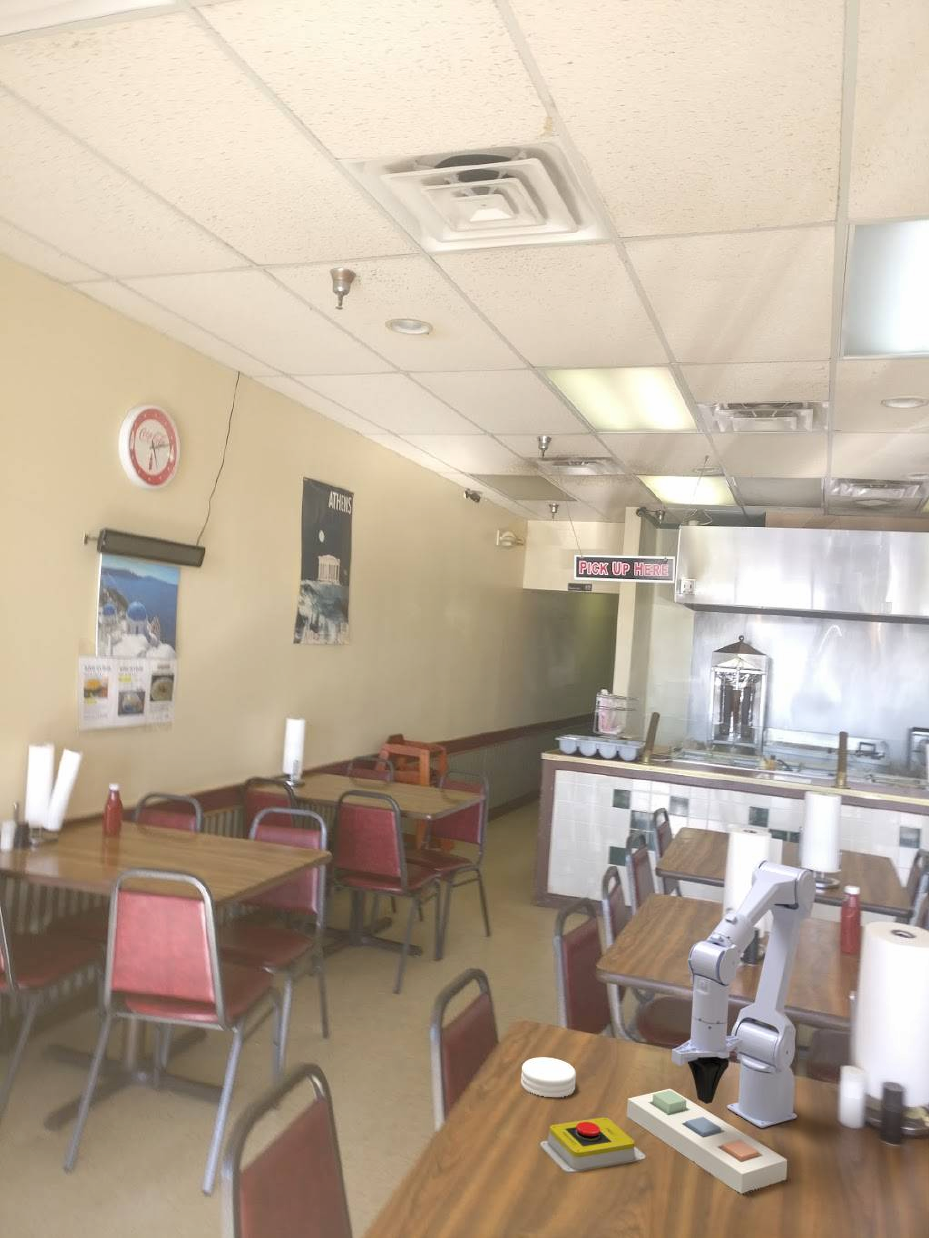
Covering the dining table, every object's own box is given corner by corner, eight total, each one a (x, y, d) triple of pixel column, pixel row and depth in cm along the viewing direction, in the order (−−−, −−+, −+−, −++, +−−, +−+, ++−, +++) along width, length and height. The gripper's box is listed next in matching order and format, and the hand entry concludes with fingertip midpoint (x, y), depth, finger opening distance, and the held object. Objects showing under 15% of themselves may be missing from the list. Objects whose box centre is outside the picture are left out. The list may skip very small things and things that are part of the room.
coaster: (515, 1092, 171) (516, 1073, 171) (527, 1070, 180) (528, 1052, 180) (569, 1104, 168) (570, 1084, 168) (579, 1081, 177) (580, 1062, 177)
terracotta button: (738, 1158, 152) (739, 1139, 152) (758, 1170, 148) (759, 1151, 148) (720, 1163, 150) (721, 1144, 150) (740, 1176, 146) (741, 1156, 146)
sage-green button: (669, 1107, 165) (670, 1090, 165) (685, 1117, 162) (686, 1100, 162) (651, 1111, 163) (652, 1094, 163) (668, 1122, 160) (669, 1104, 160)
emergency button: (539, 1118, 153) (617, 1107, 159) (537, 1146, 153) (616, 1133, 159) (567, 1147, 145) (649, 1134, 151) (566, 1176, 145) (647, 1162, 150)
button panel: (669, 1105, 169) (670, 1088, 170) (786, 1179, 147) (787, 1159, 147) (626, 1116, 164) (627, 1098, 164) (741, 1194, 142) (742, 1173, 142)
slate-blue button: (702, 1134, 158) (703, 1116, 159) (719, 1146, 155) (720, 1127, 155) (684, 1139, 156) (685, 1121, 157) (702, 1151, 153) (703, 1132, 153)
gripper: (696, 1033, 149) (691, 1120, 149) (758, 1019, 157) (753, 1102, 157) (664, 1017, 155) (659, 1100, 155) (725, 1004, 163) (721, 1084, 162)
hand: (704, 1100), depth 156 cm, fingers closed
